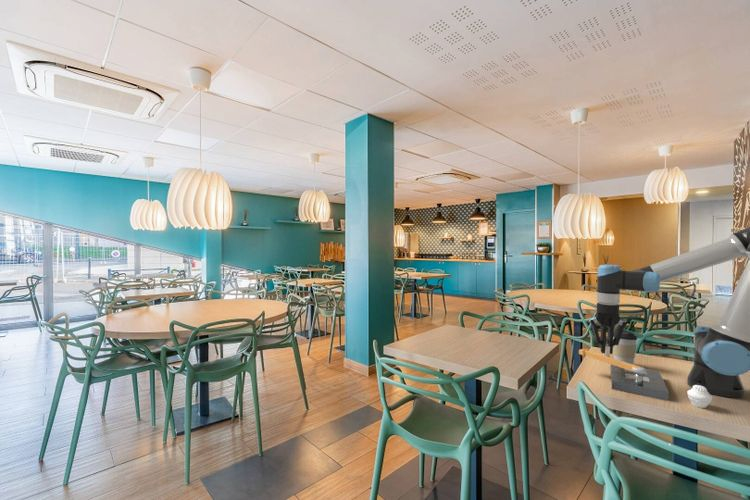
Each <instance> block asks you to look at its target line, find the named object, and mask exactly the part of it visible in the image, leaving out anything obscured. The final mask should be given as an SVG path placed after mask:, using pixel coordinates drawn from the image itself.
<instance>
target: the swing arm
mask: <svg viewBox="0 0 750 500" xmlns="http://www.w3.org/2000/svg"><path fill="white" fill-rule="evenodd" d="M578 354H579V355H581V356H586V357H588V358H591V359H593V360H597V361H600V362H603V363H606V364H610V365H611V364H612V365H615V366H618V367H621V368H624V369H627V370H630V371H633V372H634V373H638V374H646V369H647V368H645V367H643V366H639V365H635V364H630V363H627V362H623V361H620V360H617V359H614V357H611V356H610V357H608V356H604V355H603V354H602V353H598V352H594V351H592V350H589V349H587V348H581V349H578Z"/></svg>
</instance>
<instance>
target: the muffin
mask: <svg viewBox="0 0 750 500" xmlns="http://www.w3.org/2000/svg"><path fill="white" fill-rule="evenodd" d="M686 393H687V394H686V395H687V397H688V399H689V401H690V402H691V404H692V405H693V406H694V407H697V408H701V409H705V408H707V407H708V406H709V405H710V404H711V402H712V400H713V396H712V394H710V393H708V392H707V389H706V388H705V387H703V386H700V385H694V386H693V387H691V388H690V389H689V390H687V391H686Z"/></svg>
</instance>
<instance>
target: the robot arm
mask: <svg viewBox="0 0 750 500" xmlns="http://www.w3.org/2000/svg"><path fill="white" fill-rule="evenodd" d="M739 258H745V259H748V261H747V263H746V265H745V267H744V269H743V272H742V274H741V276H740V278H739V280H738V282H737V284H736V286H735V288H734V291H733V292H732V295H731V297H730V299H729V301H728V303H727V306H726V308H725V309H724V312H723V314H722V317H721V318H720V321H719V322H718V323H717V324H714V325H711V326H703V325H702V326H701V325H698V326H696V327H695V328H694V329H695V330H694V347H693V349H694V352H693V366H692V367H691V369H690V371H689V374H688V375H687V378H686V383H687V385H688V386H689V387H691V388H692V387H693V386H694V385H700V386H703V387H705V388H706V389H707V392H708V393H709V394H710V395H714V396H719V397H725V398H736V399H737V398H743V397H745V388H744V385H743V382H742V379H741V377H740V375H741V376H742V375H744V374H746V373H747V372H749V371H750V226H748V227H746V228H744V229H741V230H738V231H735V232H733V233H730V235H729V237H728V238H725V239H722V240H719V241H716V242H714V243H711V244H708V245H705V246H701V247H699V248H697V249H692V250H690V251H687V252H684V253H682V254H679V255H675V256H674V257H669V258H668V259H665V260H661V261H659V262H655V263H652V264H650V265H648V266H645V267H641V268H637V269H633V270H623V269H622V268H621V266H620V265H618V264H600V265H599V266H598V268H597V277H596V279H597V282H596V286H597V287H596V291H597V293H596V302H597V303H596V314H595V315H594V317H593V318H589V319H588V322H589V323H590V325H591V328H592V332H593V336H594V341H595V342H596V343H597V344H599V345H600V352H601V353H600V354H602V355H604V356H608V357H611V355H613V347H614V345H618V344H619V341H620V338H621V335H622V332H623V331H624V330H625V327H626V326H627V324H628V323H627V322H626V321H625V320H622V319H621V316H620V303H621V302H620V298H621V297H620V296H621V290H622V291H623V290H625V291H636V292H645V293H657V292H659V291H660V286H661V285H660V284H661V283H663V282H665V281H669V280H672V279H675V278H679V277H681V276H684V275H688V274H691V273H695V272H698V271H701V270H704V269H707V268H710V267H713V266H717V265H720V264H723V263H726V262H730V261H734V260H735V259H739ZM597 322H598V323H599V325H600V334H599V330H598V325H597ZM616 325H618V326H617V328H616V330H615V326H616ZM615 331H616V333H615ZM614 333H615V337H614ZM613 339H614V340H613Z"/></svg>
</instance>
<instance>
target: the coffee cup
mask: <svg viewBox="0 0 750 500" xmlns="http://www.w3.org/2000/svg"><path fill="white" fill-rule="evenodd" d="M615 333H616V330H614V337H615ZM613 340H614V339H613ZM637 340H638V337H637V335H635V333H634V332H631V331H627V330H623V332H622V335H621V338H620V341H619V344H618V345H614V347H613V353H612V355H613V358H614V359H617V360H620V361H623V362H627V363H630V364H633V365H635V364H634V363H635V357H636V349H637Z"/></svg>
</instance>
